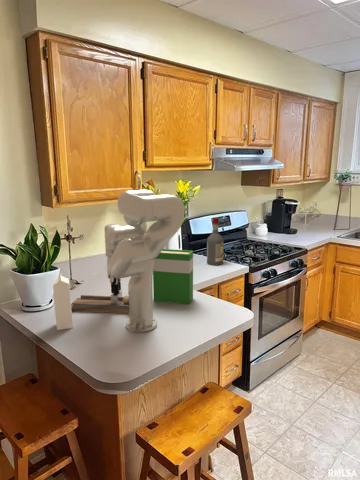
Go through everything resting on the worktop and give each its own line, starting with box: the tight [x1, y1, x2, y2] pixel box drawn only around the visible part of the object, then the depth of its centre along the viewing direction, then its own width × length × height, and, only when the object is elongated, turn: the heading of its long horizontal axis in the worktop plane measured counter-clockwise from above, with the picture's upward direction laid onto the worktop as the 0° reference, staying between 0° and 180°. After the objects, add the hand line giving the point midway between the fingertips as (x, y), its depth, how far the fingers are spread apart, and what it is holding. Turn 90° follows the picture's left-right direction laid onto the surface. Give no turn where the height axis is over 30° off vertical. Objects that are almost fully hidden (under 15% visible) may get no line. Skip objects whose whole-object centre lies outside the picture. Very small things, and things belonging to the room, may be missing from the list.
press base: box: [71, 294, 129, 314], centre depth 162 cm, size 10×32×8 cm, turn 83°
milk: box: [52, 273, 73, 331], centre depth 143 cm, size 6×6×22 cm
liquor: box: [206, 217, 225, 267], centre depth 229 cm, size 9×9×30 cm
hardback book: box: [152, 248, 194, 305], centre depth 170 cm, size 18×7×24 cm, turn 76°
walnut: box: [122, 295, 129, 305], centre depth 161 cm, size 4×4×4 cm
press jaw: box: [110, 277, 123, 305], centre depth 161 cm, size 7×3×12 cm, turn 173°
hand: (116, 291), depth 161 cm, fingers closed on press jaw, 2 cm apart
